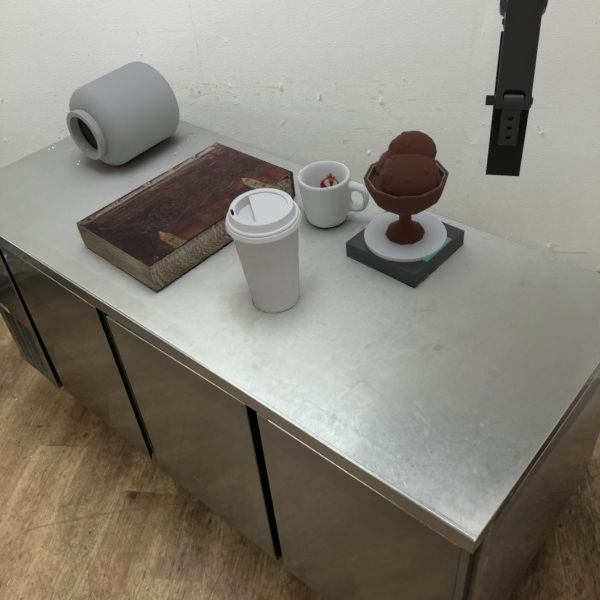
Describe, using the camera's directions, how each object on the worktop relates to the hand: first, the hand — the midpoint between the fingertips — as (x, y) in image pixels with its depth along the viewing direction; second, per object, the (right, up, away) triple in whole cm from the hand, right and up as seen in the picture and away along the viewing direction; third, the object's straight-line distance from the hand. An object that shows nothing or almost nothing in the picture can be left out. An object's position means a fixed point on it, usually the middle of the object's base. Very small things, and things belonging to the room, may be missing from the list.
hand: (505, 133), depth 59 cm
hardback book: (-36, -3, +45) cm, 58 cm away
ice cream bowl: (-4, -6, +33) cm, 33 cm away
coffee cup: (-22, -15, +30) cm, 40 cm away
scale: (-4, -8, +34) cm, 36 cm away
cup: (-13, -3, +42) cm, 44 cm away
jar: (-51, +10, +62) cm, 81 cm away
